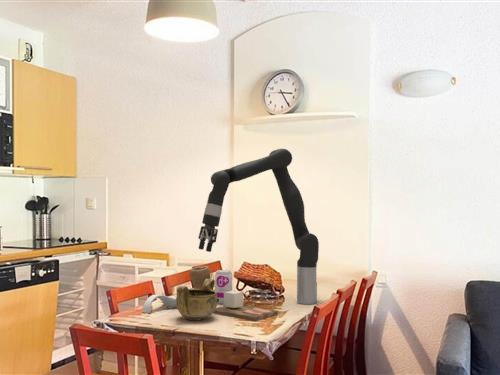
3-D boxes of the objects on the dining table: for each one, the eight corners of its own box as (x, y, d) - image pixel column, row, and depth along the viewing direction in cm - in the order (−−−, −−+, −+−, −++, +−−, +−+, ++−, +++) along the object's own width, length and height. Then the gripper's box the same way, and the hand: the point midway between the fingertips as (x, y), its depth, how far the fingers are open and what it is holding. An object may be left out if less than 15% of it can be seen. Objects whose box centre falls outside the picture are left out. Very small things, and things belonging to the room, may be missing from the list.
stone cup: (184, 296, 262) (184, 266, 263) (198, 293, 272) (199, 264, 273) (209, 300, 254) (209, 269, 255) (222, 296, 265) (223, 266, 265)
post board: (234, 306, 238) (234, 290, 239) (277, 314, 224) (277, 296, 224) (210, 312, 226) (210, 295, 226) (255, 321, 211) (255, 302, 211)
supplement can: (229, 304, 243) (230, 272, 243) (212, 304, 245) (212, 271, 245) (233, 301, 251) (234, 270, 251) (217, 300, 252) (217, 269, 253)
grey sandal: (173, 303, 246) (173, 288, 246) (192, 306, 240) (192, 290, 240) (136, 312, 226) (136, 295, 227) (156, 315, 220) (156, 298, 220)
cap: (232, 304, 233) (232, 290, 233) (243, 305, 229) (243, 292, 229) (223, 306, 228) (223, 292, 228) (234, 307, 224) (234, 293, 224)
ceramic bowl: (195, 311, 228) (196, 276, 229) (228, 316, 220) (229, 280, 220) (162, 321, 209) (163, 283, 209) (197, 327, 200) (198, 287, 201)
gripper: (226, 217, 230) (218, 253, 229) (213, 215, 243) (205, 250, 241) (211, 214, 227) (203, 250, 225) (198, 212, 239) (190, 247, 238)
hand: (204, 250), depth 233 cm, fingers open, 8 cm apart
